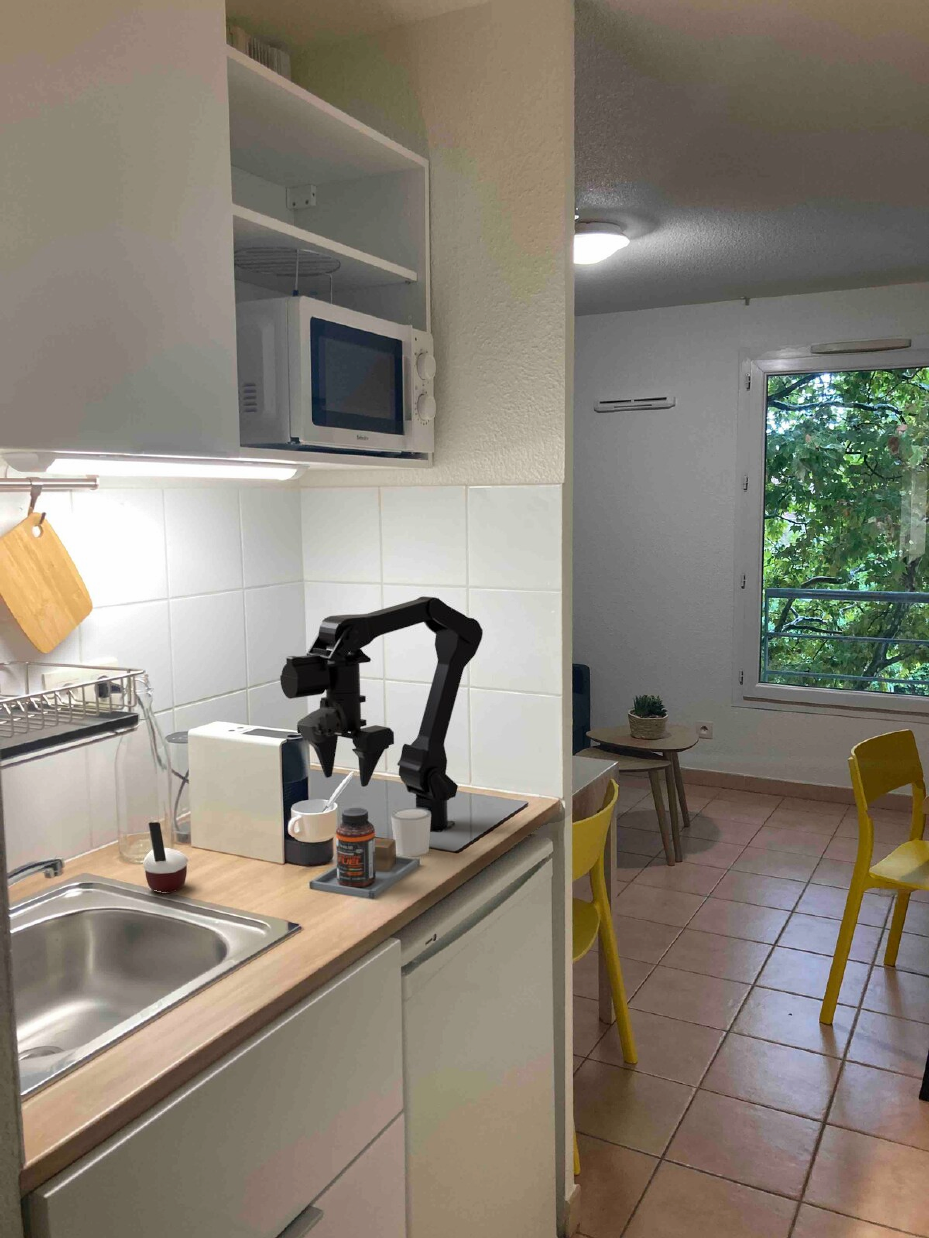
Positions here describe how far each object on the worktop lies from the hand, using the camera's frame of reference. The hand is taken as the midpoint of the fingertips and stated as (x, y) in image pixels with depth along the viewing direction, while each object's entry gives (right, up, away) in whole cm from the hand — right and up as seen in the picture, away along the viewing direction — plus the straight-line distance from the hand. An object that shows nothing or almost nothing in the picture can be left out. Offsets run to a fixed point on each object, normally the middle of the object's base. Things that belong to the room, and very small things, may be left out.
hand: (346, 781), depth 169 cm
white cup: (+11, -12, -1) cm, 17 cm away
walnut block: (+7, -12, -9) cm, 16 cm away
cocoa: (-26, -14, -15) cm, 33 cm away
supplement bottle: (+3, -13, -15) cm, 21 cm away
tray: (+5, -13, -13) cm, 19 cm away
